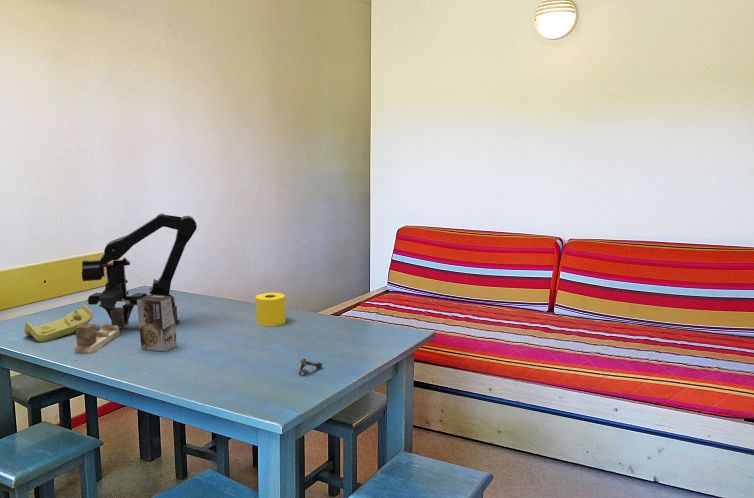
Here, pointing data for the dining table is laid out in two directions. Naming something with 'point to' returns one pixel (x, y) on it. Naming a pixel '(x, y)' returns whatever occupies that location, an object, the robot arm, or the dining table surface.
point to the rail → (99, 342)
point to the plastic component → (59, 325)
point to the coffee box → (157, 322)
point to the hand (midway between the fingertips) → (120, 323)
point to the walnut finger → (118, 317)
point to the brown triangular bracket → (318, 365)
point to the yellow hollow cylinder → (270, 309)
